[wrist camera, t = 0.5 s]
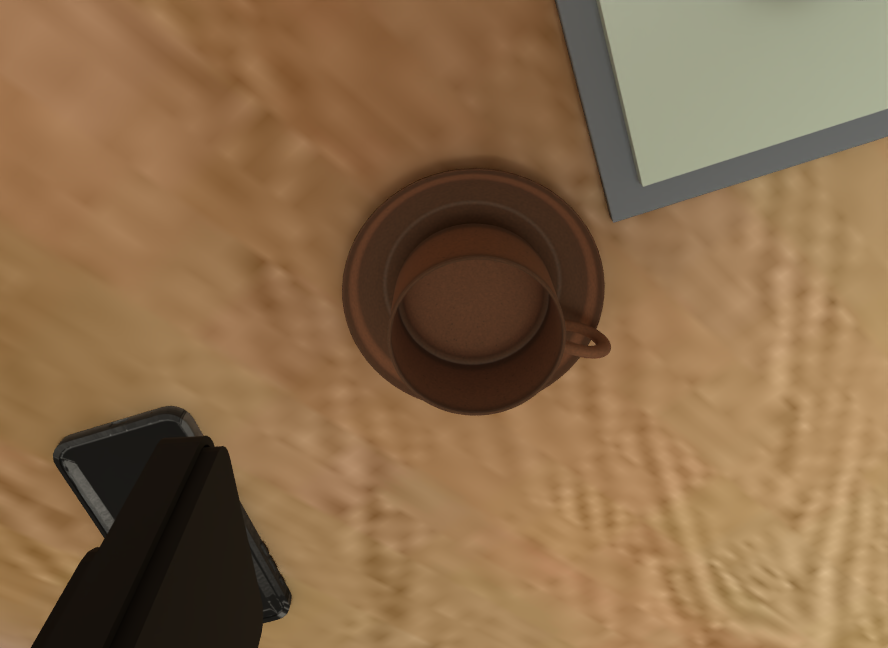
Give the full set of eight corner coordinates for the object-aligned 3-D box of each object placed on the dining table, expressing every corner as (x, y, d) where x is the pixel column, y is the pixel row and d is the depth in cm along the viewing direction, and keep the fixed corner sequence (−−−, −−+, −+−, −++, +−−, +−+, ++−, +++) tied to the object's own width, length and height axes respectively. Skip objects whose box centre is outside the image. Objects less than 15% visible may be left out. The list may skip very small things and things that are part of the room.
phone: (175, 645, 47) (44, 448, 41) (181, 630, 48) (53, 436, 42) (297, 614, 46) (181, 408, 40) (300, 600, 47) (187, 396, 41)
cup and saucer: (594, 144, 35) (623, 183, 29) (599, 378, 40) (624, 448, 35) (327, 171, 35) (306, 215, 30) (366, 398, 41) (354, 471, 35)
